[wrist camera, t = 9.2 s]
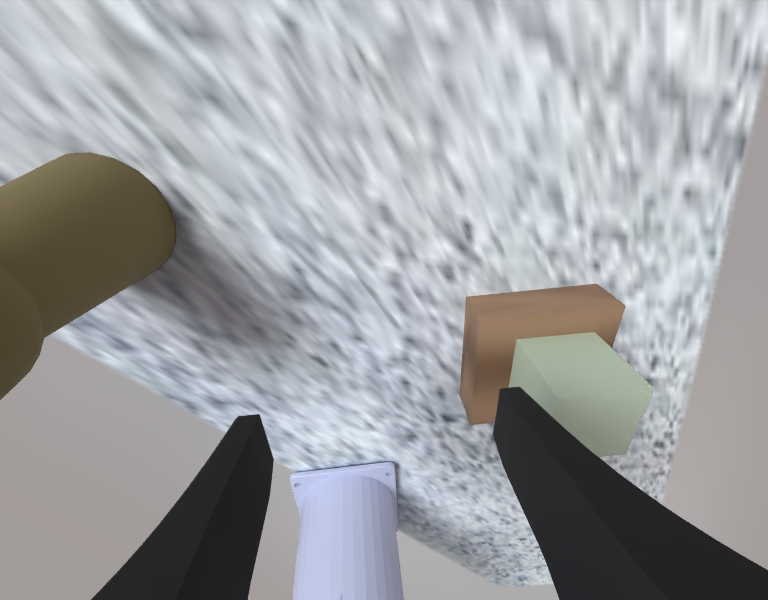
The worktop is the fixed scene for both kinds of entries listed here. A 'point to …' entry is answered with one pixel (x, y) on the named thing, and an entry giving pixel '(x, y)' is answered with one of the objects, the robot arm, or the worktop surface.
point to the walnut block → (524, 334)
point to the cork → (72, 248)
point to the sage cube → (583, 388)
